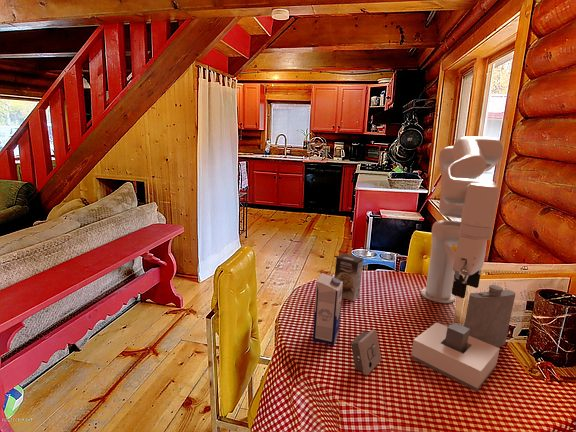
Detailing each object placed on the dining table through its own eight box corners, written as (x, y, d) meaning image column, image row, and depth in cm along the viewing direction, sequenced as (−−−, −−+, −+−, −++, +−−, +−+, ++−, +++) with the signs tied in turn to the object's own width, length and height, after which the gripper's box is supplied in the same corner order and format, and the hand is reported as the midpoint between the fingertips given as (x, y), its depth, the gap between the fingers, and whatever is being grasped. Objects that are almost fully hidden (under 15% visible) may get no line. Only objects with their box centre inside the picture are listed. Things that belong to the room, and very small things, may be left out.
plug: (448, 352, 104) (454, 322, 102) (464, 360, 101) (469, 328, 99) (442, 358, 101) (447, 327, 99) (457, 366, 98) (463, 334, 96)
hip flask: (499, 339, 115) (510, 281, 110) (509, 346, 111) (522, 287, 106) (458, 345, 110) (468, 285, 106) (467, 352, 106) (479, 291, 102)
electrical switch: (366, 377, 94) (366, 345, 92) (349, 370, 97) (349, 339, 95) (381, 361, 101) (381, 330, 99) (364, 355, 104) (365, 325, 102)
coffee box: (332, 295, 140) (335, 257, 137) (339, 289, 146) (342, 252, 142) (354, 301, 136) (357, 262, 132) (360, 295, 141) (363, 257, 137)
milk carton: (318, 329, 116) (322, 272, 111) (338, 333, 113) (343, 275, 109) (312, 340, 109) (316, 280, 104) (333, 345, 107) (338, 284, 102)
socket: (433, 339, 113) (436, 322, 111) (495, 367, 100) (499, 348, 99) (410, 358, 103) (413, 339, 101) (476, 391, 90) (480, 371, 89)
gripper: (472, 222, 101) (463, 278, 105) (447, 232, 89) (437, 295, 93) (501, 228, 96) (490, 287, 100) (479, 239, 84) (467, 305, 88)
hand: (465, 290), depth 96 cm, fingers open, 9 cm apart
